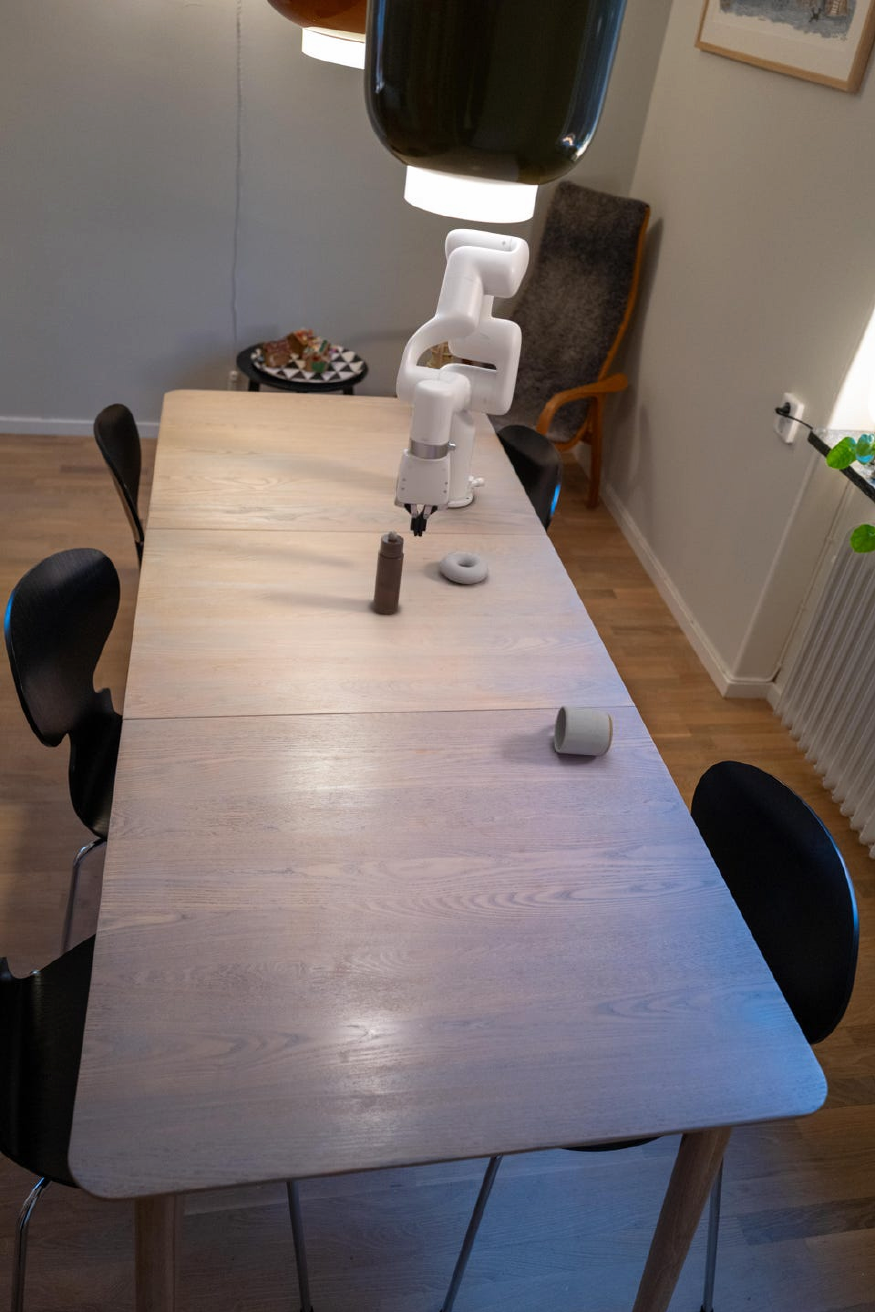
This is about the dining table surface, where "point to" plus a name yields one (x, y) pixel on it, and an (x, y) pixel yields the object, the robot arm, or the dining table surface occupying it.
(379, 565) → the pepper mill
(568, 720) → the ceramic mug
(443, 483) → the robot arm
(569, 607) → the dining table surface
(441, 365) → the lantern
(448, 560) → the donut
